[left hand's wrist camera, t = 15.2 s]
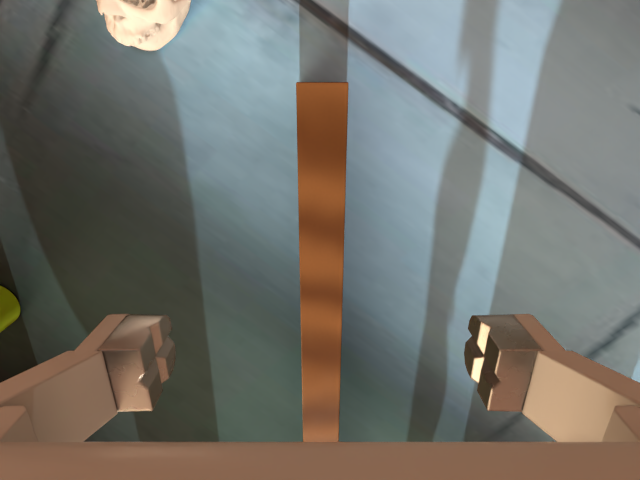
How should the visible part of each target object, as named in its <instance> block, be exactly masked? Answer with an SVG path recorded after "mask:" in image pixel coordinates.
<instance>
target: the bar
mask: <svg viewBox="0 0 640 480" xmlns="http://www.w3.org/2000/svg"><path fill="white" fill-rule="evenodd" d="M296 95H297V147H298V199H299V251H300V304H301V356H302V408H303V442H338V441H339V405H340V368H341V332H342V296H343V259H344V223H345V187H346V150H347V114H348V82H297V83H296Z"/></svg>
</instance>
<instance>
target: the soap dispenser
mask: <svg viewBox="0 0 640 480" xmlns="http://www.w3.org/2000/svg"><path fill="white" fill-rule="evenodd" d="M19 315H20V305H19V302H18V300H17V299H16V297H15V296H14V295H13V294H12V293H11V292H10V291H9V290H7V289H6V288H4V287H2V286H0V332H1V331H3V330H4V329H5V328H7V327H8V326H9V325H10V324H12V323H13V322H14V321H16V320H17V318H18V317H19Z"/></svg>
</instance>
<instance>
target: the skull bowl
mask: <svg viewBox="0 0 640 480" xmlns="http://www.w3.org/2000/svg"><path fill="white" fill-rule="evenodd" d="M96 1H97V5H98V11H99V12H100V13H101V15H102V13H103V12H104V15H105V20H106V23H107V29H108V31H109V32H110V33H111V35H112V36H113V37H114V38H115V39H116V40H117V41H118V42H119V43H122V44H124V45H126V46H130V45H132V46H134V47H137V48H139V49H142V50H148V51H153V50H158V49H160V48H161V47H163V46H164V45H165V44H167V43H168V42H169V41H170V40H171V39H173V38H174V37H175V36H176V34H177V33H178V31H179V29H180V27H181V25H182V23H183V21H184V19H185V18H186V16H187V13H188V11H189V7H190V2H191V0H96Z"/></svg>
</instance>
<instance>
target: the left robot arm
mask: <svg viewBox="0 0 640 480" xmlns="http://www.w3.org/2000/svg"><path fill="white" fill-rule="evenodd" d="M171 330H172V326H171V322H170V318H169V317H168V316H167V315H147V314H130V315H129V314H111V315H107V316H106V317H105V318H104V319H103V321H102V322H101V323H100V324H99V325H98V326H97V327H96V328H95V329H94V330H93V331H92V332H91V333H90V334H89V336H88V337H87V338H86V339H85V340H84V341H83V342H82V343H81V344H80V345H79V346H78V347H77V348H76V350H75V351H67V352H65V353H63V354H60V355H58V356H56V357H54V358H52V359H50V360H48V361H46V362H43V363H41V364H39V365H37V366H35V367H33V368H31V369H29V370H27V371H24V372H22V373H20V374H18V375H16V376H14V377H12V378H10V379H7V380H5V381H3V382H1V383H0V480H640V383H639V382H637V381H634V380H632V379H630V378H628V377H626V376H624V375H622V374H620V373H618V372H615V371H613V370H611V369H609V368H607V367H605V366H603V365H601V364H599V363H596V362H594V361H592V360H590V359H588V358H586V357H584V356H582V355H580V354H577V353H575V352H573V351H565V349H564V348H563V347H562V346H561V345H560V344H559V343H558V342H557V341H556V340H555V339H554V338H553V337H552V336H551V334H550V333H549V332H548V331H547V330H546V329H545V328H544V327H543V326H542V325H541V324H540V323H539V322H538V320H537V319H536V318H535V317H534V316H532V315H530V314H510V315H473V316H472V317H471V319H470V321H469V326H468V330H469V331H470V333H471V335H472V337H471V338H470V339H469V340H468V341H467V342H466V344H465V351H464V356H465V365H466V368H467V371H468V373H469V376H470V378H471V379H473V380H474V381H476V382H477V383H479V384H478V389H477V391H478V393H479V395H480V397H481V399H482V401H483V403H484V405H485V406H486V408H487V410H488V411H519V412H522V413H523V414H524V415H525V416H526V417H527V418H529V419H530V420H531V421H532V422H534V423H535V424H536V425H537V426H539V427H540V428H541V429H542V430H543V431H545V432H546V433H547V434H548V435H550V436H551V437H552V438H553V439H555V440H556V441H557V442H83V441H84V440H86V439H87V438H88V437H89V436H91V435H92V434H93V433H94V432H95V431H97V430H98V429H99V428H100V427H102V426H103V425H104V424H105V423H107V422H108V421H109V420H110V419H111V418H113V417H114V416H115V415H116V414H118V412H120V411H152V410H153V408H154V407H155V405H156V403H157V401H158V399H159V397H160V395H161V393H162V391H163V389H162V384H161V383H163V382H164V381H166V380H167V379H169V378H170V375H171V373H172V371H173V368H174V364H175V359H176V350H175V343H174V342H173V341H172V340H171V339H170V338H169V337H168V335H169V333H170V331H171Z"/></svg>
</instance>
